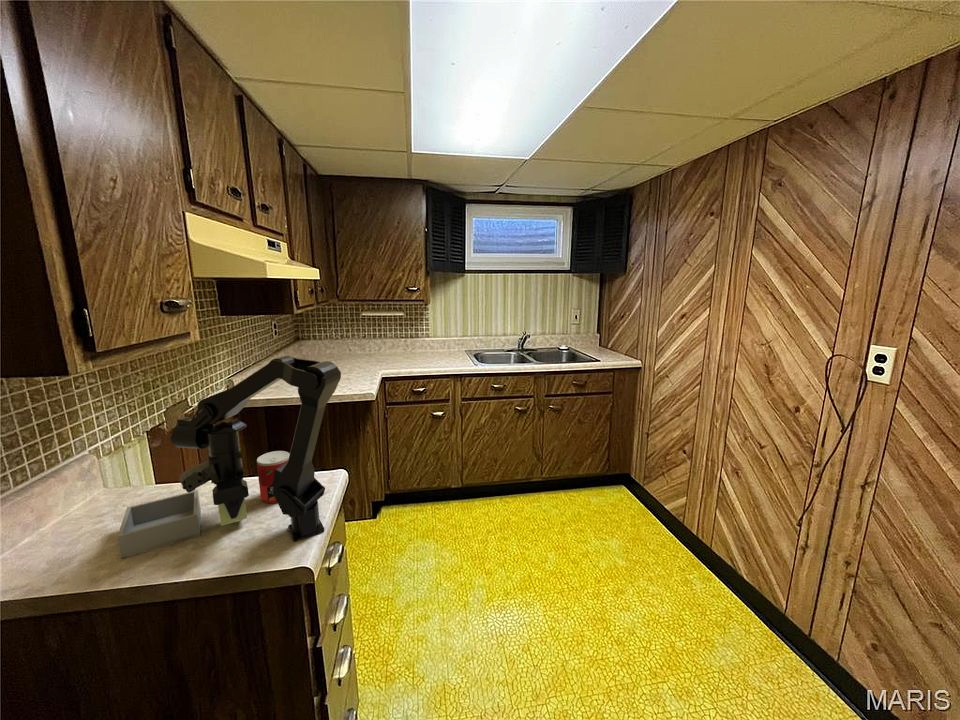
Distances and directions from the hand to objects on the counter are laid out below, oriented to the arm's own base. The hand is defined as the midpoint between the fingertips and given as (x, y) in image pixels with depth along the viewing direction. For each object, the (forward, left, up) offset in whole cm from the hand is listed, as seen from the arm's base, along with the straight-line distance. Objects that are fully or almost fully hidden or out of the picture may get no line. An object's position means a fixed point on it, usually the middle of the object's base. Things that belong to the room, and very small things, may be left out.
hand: (233, 512), depth 89 cm
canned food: (+8, -10, -3) cm, 13 cm away
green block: (0, 0, -1) cm, 1 cm away
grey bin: (+6, +13, -3) cm, 15 cm away
